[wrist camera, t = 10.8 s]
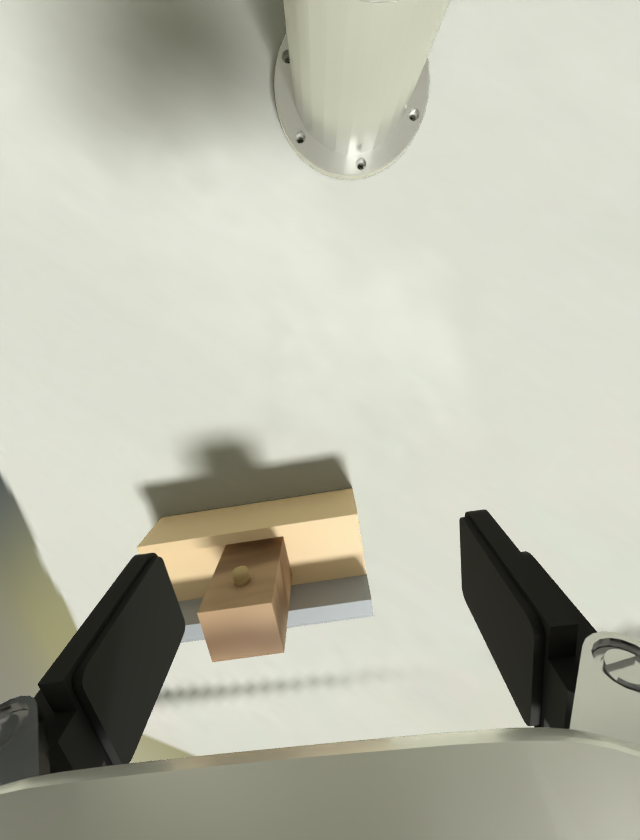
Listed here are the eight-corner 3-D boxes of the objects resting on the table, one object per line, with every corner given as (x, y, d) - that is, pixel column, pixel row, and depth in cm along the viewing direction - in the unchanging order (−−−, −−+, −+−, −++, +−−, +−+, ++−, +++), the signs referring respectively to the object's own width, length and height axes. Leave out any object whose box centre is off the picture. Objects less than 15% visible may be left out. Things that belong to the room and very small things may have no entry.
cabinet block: (224, 535, 36) (193, 602, 27) (281, 527, 36) (269, 592, 27) (237, 584, 38) (212, 662, 29) (292, 576, 37) (283, 652, 29)
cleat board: (161, 517, 40) (126, 560, 33) (352, 488, 39) (359, 525, 32) (185, 591, 43) (157, 645, 35) (364, 565, 42) (373, 616, 34)
